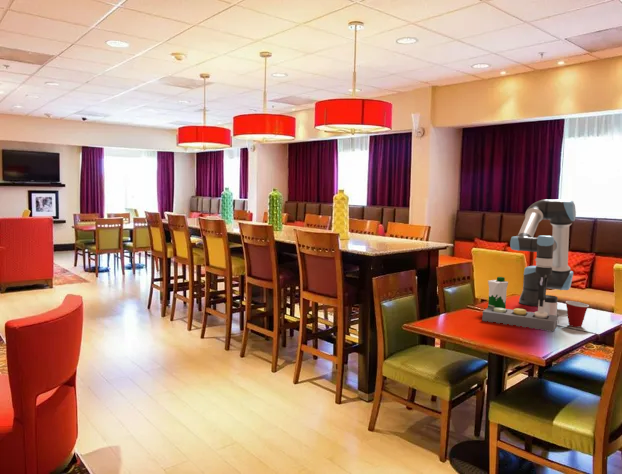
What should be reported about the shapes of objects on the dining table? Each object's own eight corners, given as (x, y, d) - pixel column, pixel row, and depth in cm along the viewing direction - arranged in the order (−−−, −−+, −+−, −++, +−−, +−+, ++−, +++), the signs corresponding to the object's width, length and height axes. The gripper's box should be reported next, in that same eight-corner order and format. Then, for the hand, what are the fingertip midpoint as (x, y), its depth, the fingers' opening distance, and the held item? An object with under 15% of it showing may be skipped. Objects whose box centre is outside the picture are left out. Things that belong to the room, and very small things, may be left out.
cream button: (535, 314, 256) (535, 310, 256) (548, 316, 253) (548, 312, 253) (533, 316, 251) (533, 313, 251) (546, 318, 248) (546, 314, 248)
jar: (559, 318, 268) (561, 297, 267) (552, 321, 263) (554, 299, 261) (543, 315, 275) (544, 294, 274) (536, 317, 270) (537, 296, 268)
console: (488, 315, 273) (489, 306, 272) (557, 325, 254) (557, 315, 254) (482, 320, 261) (482, 311, 261) (553, 331, 243) (554, 321, 242)
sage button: (494, 310, 267) (495, 307, 267) (506, 312, 264) (506, 308, 263) (492, 312, 262) (492, 309, 262) (504, 314, 259) (504, 310, 258)
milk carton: (508, 313, 277) (510, 278, 275) (496, 315, 273) (498, 279, 272) (496, 310, 285) (498, 275, 283) (484, 311, 281) (486, 276, 279)
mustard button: (514, 311, 261) (514, 307, 261) (527, 313, 258) (527, 309, 258) (512, 313, 256) (512, 310, 256) (524, 315, 253) (525, 311, 253)
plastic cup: (590, 329, 248) (592, 305, 247) (567, 327, 250) (569, 304, 249) (583, 323, 259) (585, 301, 257) (561, 322, 261) (562, 299, 260)
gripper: (537, 264, 257) (535, 308, 259) (533, 267, 246) (530, 313, 248) (553, 265, 253) (550, 311, 255) (550, 268, 242) (547, 316, 244)
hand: (540, 312), depth 252 cm, fingers closed
